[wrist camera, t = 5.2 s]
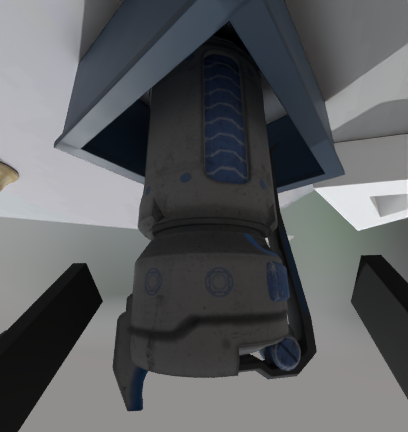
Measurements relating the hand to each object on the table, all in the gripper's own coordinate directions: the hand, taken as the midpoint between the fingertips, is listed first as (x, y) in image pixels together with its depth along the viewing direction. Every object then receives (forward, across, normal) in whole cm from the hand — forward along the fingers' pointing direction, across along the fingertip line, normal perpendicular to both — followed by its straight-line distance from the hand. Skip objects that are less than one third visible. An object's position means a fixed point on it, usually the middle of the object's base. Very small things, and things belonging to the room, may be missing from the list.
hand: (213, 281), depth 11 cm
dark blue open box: (+17, 0, +9) cm, 19 cm away
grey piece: (+17, 0, +10) cm, 19 cm away
